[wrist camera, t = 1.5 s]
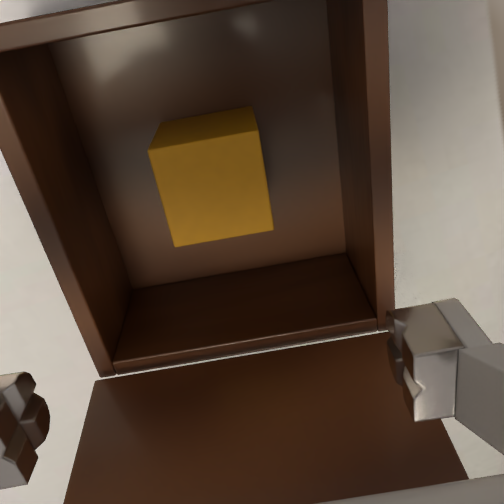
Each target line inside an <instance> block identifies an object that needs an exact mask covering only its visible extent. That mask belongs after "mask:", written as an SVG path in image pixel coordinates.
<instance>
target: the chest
mask: <svg viewBox="0 0 504 504" xmlns="http://www.w3.org/2000/svg"><path fill="white" fill-rule="evenodd" d="M248 106H252V108H253V111H254V115H255V119H256V123H257V127H258V130H259V136H260V142H261V148H262V154H263V161H264V167H265V173H266V179H267V186H268V192H269V198H270V204H271V210H272V217H273V223H274V230H272V231H266V232H260V233H255V234H249V235H243V236H238V237H232V238H226V239H220V240H215V241H209V242H203V243H198V244H192V245H186V246H180V247H175V246H174V244H173V241H172V237H171V234H170V230H169V227H168V223H167V219H166V216H165V212H164V209H163V205H162V202H161V198H160V195H159V191H158V188H157V184H156V180H155V177H154V173H153V170H152V166H151V163H150V159H149V156H148V148H149V146H150V144H151V142H152V139H153V137H154V135H155V133H156V131H157V128H158V126H159V124H160V123H161V122H166V121H172V120H177V119H183V118H188V117H194V116H199V115H205V114H210V113H215V112H221V111H226V110H232V109H237V108H243V107H248ZM0 149H1V151H2V154H3V156H4V158H5V161H6V163H7V165H8V167H9V170H10V172H11V174H12V177H13V179H14V181H15V184H16V186H17V188H18V190H19V193H20V195H21V197H22V200H23V202H24V204H25V206H26V209H27V211H28V213H29V216H30V218H31V220H32V222H33V225H34V227H35V229H36V232H37V234H38V236H39V239H40V241H41V243H42V245H43V248H44V250H45V252H46V255H47V257H48V259H49V261H50V264H51V266H52V268H53V271H54V273H55V275H56V277H57V280H58V282H59V284H60V287H61V289H62V291H63V293H64V296H65V298H66V300H67V303H68V305H69V307H70V310H71V312H72V314H73V316H74V319H75V321H76V323H77V326H78V328H79V330H80V332H81V335H82V337H83V339H84V342H85V344H86V346H87V348H88V351H89V353H90V355H91V358H92V360H93V362H94V365H95V367H96V369H97V371H98V374H99V376H100V377H101V378H102V377H108V376H114V375H116V374H118V375H120V374H126V373H132V372H138V371H144V370H150V369H156V368H162V367H168V366H174V365H180V364H186V363H192V362H198V361H203V360H209V359H215V358H221V357H227V356H233V355H239V354H245V353H251V352H257V351H263V350H269V349H275V348H281V347H287V346H293V345H299V344H305V343H311V342H317V341H323V340H329V339H335V338H341V337H347V336H353V335H359V334H365V333H371V332H376V331H377V330H378V331H385V330H388V329H387V327H386V311H388V310H394V309H395V293H394V252H393V211H392V170H391V128H390V87H389V46H388V5H387V0H118V1H113V2H108V3H103V4H97V5H92V6H87V7H82V8H77V9H71V10H66V11H61V12H56V13H51V14H45V15H40V16H35V17H30V18H25V19H19V20H14V21H9V22H4V23H0Z"/></svg>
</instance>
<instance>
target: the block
mask: <svg viewBox="0 0 504 504" xmlns="http://www.w3.org/2000/svg"><path fill="white" fill-rule="evenodd" d="M148 156H149V159H150V163H151V166H152V170H153V173H154V177H155V180H156V184H157V188H158V191H159V195H160V198H161V202H162V205H163V209H164V212H165V216H166V219H167V223H168V227H169V230H170V234H171V237H172V241H173V244H174V246H175V247H180V246H186V245H192V244H198V243H203V242H209V241H215V240H220V239H226V238H232V237H238V236H243V235H249V234H255V233H260V232H266V231H272V230H274V223H273V217H272V210H271V204H270V198H269V192H268V186H267V179H266V173H265V167H264V161H263V154H262V148H261V142H260V136H259V130H258V127H257V123H256V119H255V115H254V111H253V108H252V106H248V107H243V108H237V109H232V110H226V111H221V112H215V113H210V114H205V115H199V116H194V117H188V118H183V119H177V120H172V121H166V122H161V123H160V124H159V126H158V128H157V131H156V133H155V135H154V137H153V139H152V142H151V144H150V146H149V148H148Z"/></svg>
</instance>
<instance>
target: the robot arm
mask: <svg viewBox="0 0 504 504" xmlns="http://www.w3.org/2000/svg"><path fill="white" fill-rule="evenodd" d="M386 327H387V329H388V331H389V333H390V335H391V336H390V337H389V339H388V340H387V354H388V359H389V364H390V368H391V371H392V374H393V376H394V379H395V381H396V383H397V384H399V385H401V386H402V387H403V399H404V401H405V403H406V406H407V408H408V410H409V412H410V414H411V416H412V419H413V421H414V422H419V421H427V420H434V419H442V418H449V417H455V419H456V420H458V421H459V422H460V423H462V424H463V425H464V426H466V427H467V428H468V429H470V430H471V431H472V432H474V433H475V434H476V435H478V436H479V437H480V438H482V439H483V440H484V441H486V442H487V443H488V444H490V445H491V446H492V447H494V448H495V449H496V450H498V451H499V452H500V453H502V454H503V455H504V344H502V343H495V344H493V343H492V342H491V341H490V339H489V338H488V337H487V336H486V334H485V333H484V332H483V330H482V329H481V328H480V327H479V325H478V324H477V323H476V322H475V320H474V319H473V318H472V317H471V315H470V314H469V313H468V311H467V310H466V309H465V308H464V306H463V305H462V304H461V303H460V301H459V300H458V299H456V298H451V299H446V300H440V301H435V302H432V303H428V304H423V305H417V306H411V307H405V308H400V309H394V310H388V311H386ZM35 387H36V383H35V381H34V379H33V378H32V376H31V374H30V373H27V372H18V373H11V374H4V375H0V489H6V488H11V487H16V486H21V485H27V484H28V482H29V479H30V477H31V474H32V472H33V470H34V467H35V465H36V462H37V460H38V456H37V454H36V451H35V450H36V449H37V448H38V447H39V446H40V445H41V444H42V443H43V442H44V441H45V439H46V437H47V434H48V431H49V424H50V414H49V410H48V406H47V404H46V402H45V400H44V398H42V397H40V396H39V395H37V394H35V393H34V389H35ZM315 504H504V474H500V475H494V476H487V477H481V478H474V479H468V480H462V481H455V482H449V483H443V484H436V485H430V486H423V487H417V488H411V489H404V490H398V491H392V492H385V493H379V494H373V495H366V496H360V497H353V498H347V499H340V500H334V501H328V502H321V503H315Z"/></svg>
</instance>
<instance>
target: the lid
mask: <svg viewBox="0 0 504 504" xmlns="http://www.w3.org/2000/svg"><path fill="white" fill-rule="evenodd" d="M390 336H391V335H390V333H389V332H383V333H377V334H371V335H365V336H359V337H353V338H347V339H342V340H336V341H330V342H324V343H318V344H312V345H306V346H300V347H294V348H288V349H282V350H276V351H270V352H264V353H258V354H252V355H246V356H240V357H234V358H228V359H222V360H216V361H210V362H204V363H198V364H192V365H186V366H180V367H174V368H168V369H162V370H156V371H150V372H144V373H138V374H133V375H127V376H121V377H115V378H109V379H103V380H97V381H95V383H94V387H93V391H92V395H91V399H90V403H89V406H88V410H87V414H86V418H85V422H84V426H83V430H82V433H81V437H80V441H79V445H78V449H77V453H76V457H75V461H74V464H73V468H72V472H71V476H70V480H69V484H68V488H67V492H66V495H65V499H64V503H63V504H315V503H321V502H328V501H334V500H340V499H347V498H353V497H360V496H366V495H373V494H379V493H385V492H392V491H398V490H404V489H411V488H417V487H423V486H430V485H436V484H443V483H449V482H455V481H462V480H468V479H469V478H468V476H467V473H466V471H465V469H464V467H463V465H462V463H461V461H460V459H459V456H458V454H457V452H456V450H455V448H454V446H453V444H452V442H451V439H450V437H449V435H448V433H447V431H446V429H445V427H444V425H443V422H442V420H441V419H434V420H427V421H419V422H414V421H413V419H412V416H411V414H410V412H409V410H408V408H407V406H406V403H405V401H404V399H403V387H402V386H401V385H399V384H397V383H396V381H395V379H394V376H393V374H392V371H391V368H390V364H389V359H388V354H387V340H388V339H389V337H390Z"/></svg>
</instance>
